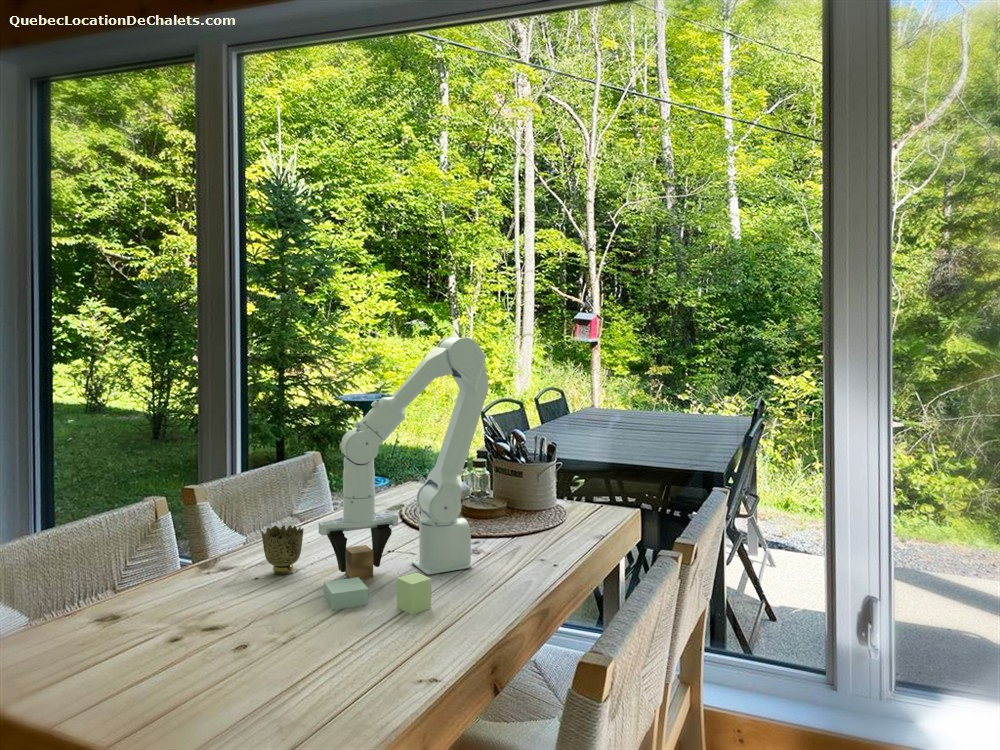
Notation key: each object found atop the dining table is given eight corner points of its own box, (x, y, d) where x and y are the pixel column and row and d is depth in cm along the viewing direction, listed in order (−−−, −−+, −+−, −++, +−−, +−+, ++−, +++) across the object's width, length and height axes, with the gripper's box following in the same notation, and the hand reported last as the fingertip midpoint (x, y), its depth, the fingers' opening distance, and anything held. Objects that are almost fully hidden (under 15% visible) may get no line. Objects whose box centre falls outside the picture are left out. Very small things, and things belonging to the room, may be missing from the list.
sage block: (416, 601, 128) (416, 572, 128) (431, 608, 125) (431, 578, 125) (396, 607, 125) (396, 577, 125) (411, 614, 123) (411, 584, 122)
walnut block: (366, 570, 143) (366, 544, 143) (373, 577, 140) (373, 550, 139) (345, 574, 141) (345, 547, 141) (352, 580, 138) (352, 553, 137)
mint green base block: (358, 594, 132) (358, 577, 132) (368, 606, 127) (368, 588, 126) (323, 599, 129) (323, 581, 129) (332, 611, 124) (332, 593, 124)
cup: (292, 580, 137) (291, 537, 137) (254, 577, 139) (254, 534, 138) (310, 567, 145) (310, 526, 144) (274, 564, 146) (274, 523, 145)
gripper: (388, 486, 146) (388, 556, 147) (313, 494, 139) (314, 567, 140) (402, 494, 140) (402, 566, 141) (324, 503, 133) (325, 579, 134)
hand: (359, 567), depth 140 cm, fingers open, 6 cm apart
